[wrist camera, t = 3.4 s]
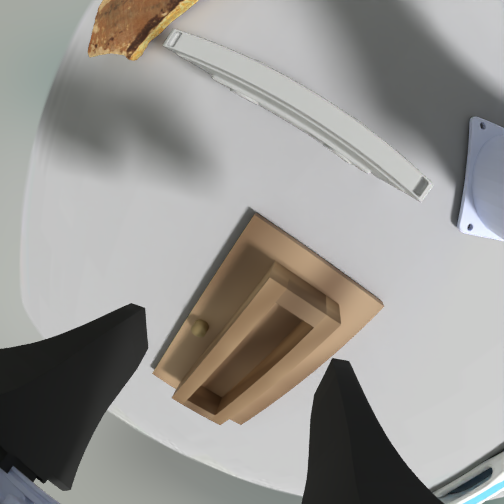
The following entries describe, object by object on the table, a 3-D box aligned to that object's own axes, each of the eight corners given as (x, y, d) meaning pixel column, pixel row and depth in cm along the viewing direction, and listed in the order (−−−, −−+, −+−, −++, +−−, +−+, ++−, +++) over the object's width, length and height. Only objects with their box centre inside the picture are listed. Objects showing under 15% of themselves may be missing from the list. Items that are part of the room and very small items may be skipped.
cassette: (213, 84, 16) (151, 54, 9) (228, 60, 15) (175, 17, 8) (375, 185, 16) (417, 216, 9) (391, 162, 15) (444, 177, 8)
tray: (382, 302, 19) (390, 326, 16) (242, 420, 27) (235, 441, 24) (256, 212, 18) (245, 225, 15) (154, 369, 26) (141, 389, 24)
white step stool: (537, 441, 22) (544, 460, 17) (453, 499, 34) (455, 516, 28) (510, 440, 23) (518, 465, 17) (407, 503, 34) (407, 525, 29)
